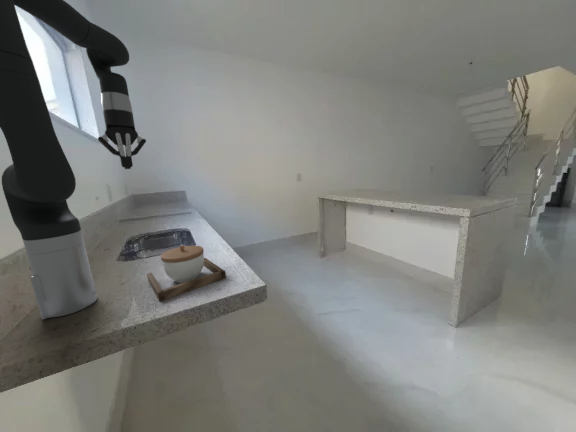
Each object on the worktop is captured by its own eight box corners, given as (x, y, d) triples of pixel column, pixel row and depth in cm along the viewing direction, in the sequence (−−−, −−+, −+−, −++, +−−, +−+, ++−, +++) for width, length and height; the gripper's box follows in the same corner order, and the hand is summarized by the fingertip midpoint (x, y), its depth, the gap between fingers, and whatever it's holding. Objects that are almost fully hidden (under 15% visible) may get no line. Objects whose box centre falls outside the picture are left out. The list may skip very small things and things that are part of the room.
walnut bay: (159, 301, 54) (157, 293, 54) (148, 280, 66) (146, 273, 66) (226, 277, 64) (225, 271, 64) (205, 263, 76) (205, 257, 76)
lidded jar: (212, 269, 71) (208, 239, 69) (196, 286, 61) (191, 251, 59) (178, 270, 72) (173, 241, 70) (156, 287, 61) (150, 253, 60)
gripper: (90, 105, 66) (102, 168, 69) (144, 111, 74) (153, 167, 77) (90, 111, 71) (101, 170, 74) (140, 116, 80) (149, 169, 83)
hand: (127, 168), depth 76 cm, fingers closed
